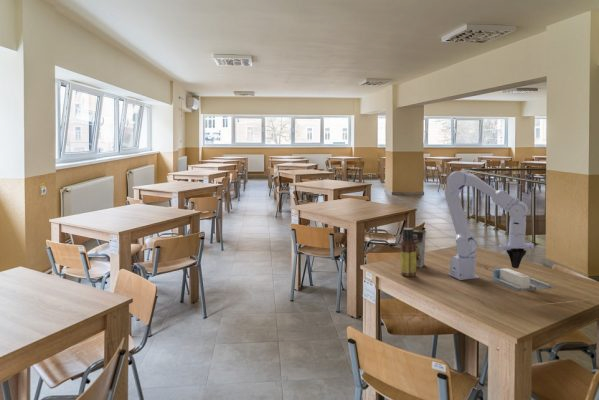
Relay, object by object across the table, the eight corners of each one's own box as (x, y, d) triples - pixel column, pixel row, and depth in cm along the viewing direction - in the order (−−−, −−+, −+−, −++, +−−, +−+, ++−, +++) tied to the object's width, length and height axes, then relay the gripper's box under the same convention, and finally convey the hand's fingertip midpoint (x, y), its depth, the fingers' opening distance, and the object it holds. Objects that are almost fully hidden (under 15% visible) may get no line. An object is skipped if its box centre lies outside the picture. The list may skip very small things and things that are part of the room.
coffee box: (401, 265, 205) (402, 230, 203) (404, 262, 211) (405, 228, 209) (421, 268, 201) (422, 232, 199) (424, 264, 207) (426, 229, 205)
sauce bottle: (414, 273, 193) (416, 227, 190) (417, 277, 187) (418, 229, 184) (399, 272, 193) (400, 226, 191) (401, 277, 187) (402, 229, 185)
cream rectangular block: (521, 288, 171) (522, 277, 170) (499, 279, 182) (500, 268, 182) (529, 288, 172) (530, 276, 171) (507, 279, 183) (507, 268, 183)
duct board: (516, 292, 168) (517, 280, 167) (488, 280, 183) (488, 269, 183) (556, 288, 172) (557, 277, 172) (525, 276, 188) (526, 266, 187)
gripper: (508, 236, 169) (506, 271, 170) (540, 234, 173) (538, 269, 174) (495, 232, 176) (493, 266, 177) (527, 230, 179) (525, 264, 181)
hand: (515, 267), depth 176 cm, fingers closed
